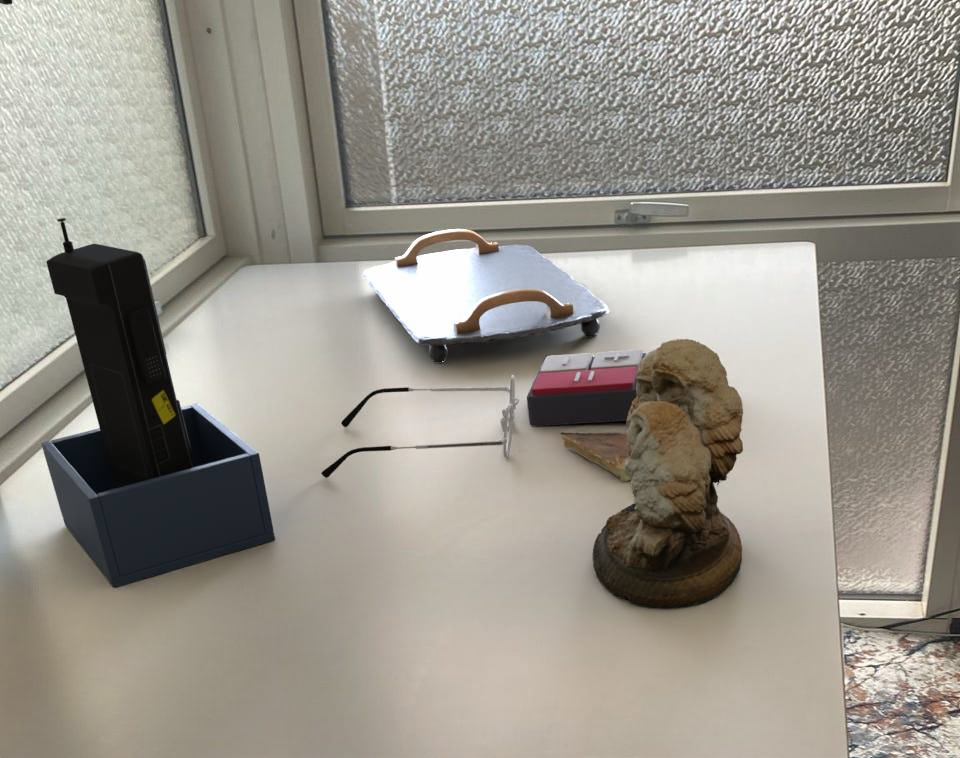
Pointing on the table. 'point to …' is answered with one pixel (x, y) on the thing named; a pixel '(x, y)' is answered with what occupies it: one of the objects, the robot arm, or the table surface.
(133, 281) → the portable radio
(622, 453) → the shard
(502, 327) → the serving tray
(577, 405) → the red gray box
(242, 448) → the bin
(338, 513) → the table surface
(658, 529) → the owl figurine
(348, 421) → the eyeglasses
